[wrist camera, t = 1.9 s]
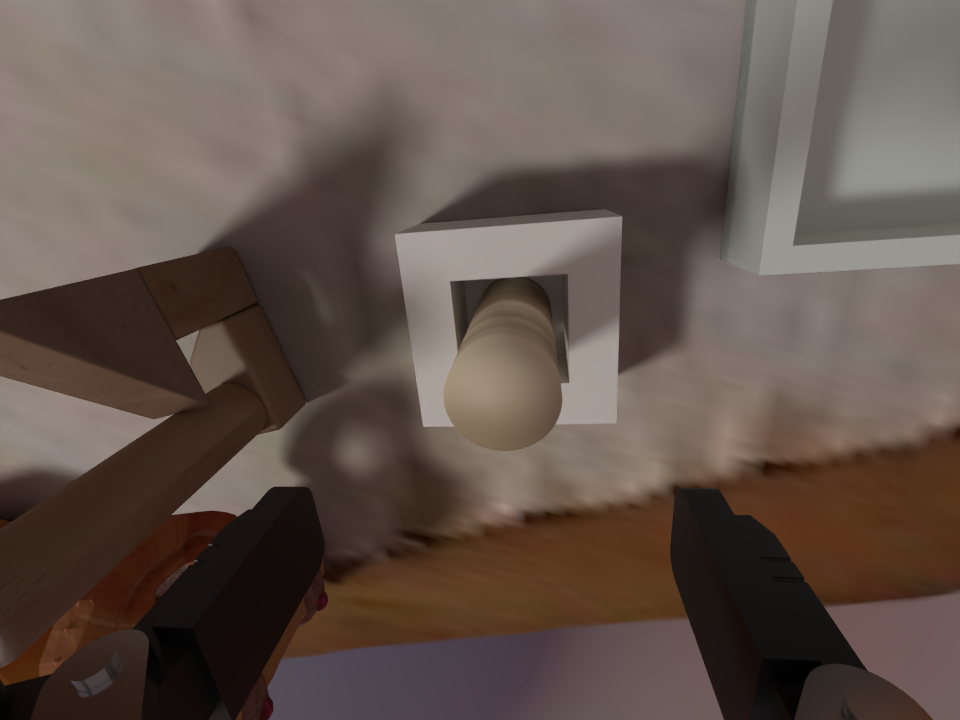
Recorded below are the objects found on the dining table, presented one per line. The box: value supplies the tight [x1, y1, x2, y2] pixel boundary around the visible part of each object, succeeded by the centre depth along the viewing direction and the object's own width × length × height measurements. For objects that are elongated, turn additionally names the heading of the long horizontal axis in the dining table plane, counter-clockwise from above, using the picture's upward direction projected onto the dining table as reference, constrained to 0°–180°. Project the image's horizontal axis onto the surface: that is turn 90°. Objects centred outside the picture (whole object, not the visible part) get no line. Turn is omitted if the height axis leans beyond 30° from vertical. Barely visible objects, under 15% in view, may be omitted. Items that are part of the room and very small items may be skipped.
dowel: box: [443, 277, 562, 451], centre depth 20 cm, size 4×4×11 cm
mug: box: [39, 511, 328, 720], centre depth 28 cm, size 15×8×15 cm, turn 11°
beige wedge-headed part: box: [0, 248, 305, 668], centre depth 21 cm, size 4×11×18 cm, turn 16°
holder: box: [395, 209, 622, 427], centre depth 24 cm, size 10×10×5 cm
